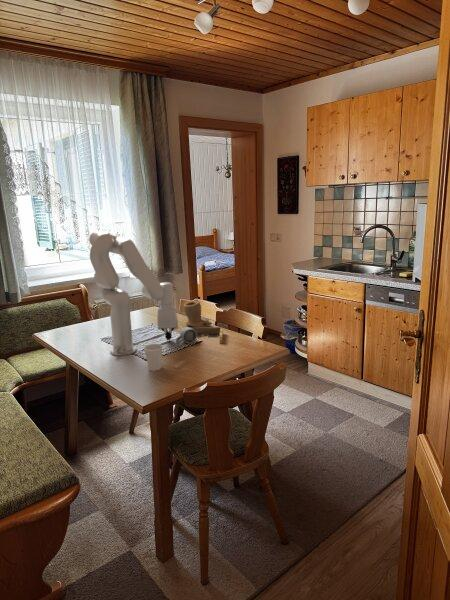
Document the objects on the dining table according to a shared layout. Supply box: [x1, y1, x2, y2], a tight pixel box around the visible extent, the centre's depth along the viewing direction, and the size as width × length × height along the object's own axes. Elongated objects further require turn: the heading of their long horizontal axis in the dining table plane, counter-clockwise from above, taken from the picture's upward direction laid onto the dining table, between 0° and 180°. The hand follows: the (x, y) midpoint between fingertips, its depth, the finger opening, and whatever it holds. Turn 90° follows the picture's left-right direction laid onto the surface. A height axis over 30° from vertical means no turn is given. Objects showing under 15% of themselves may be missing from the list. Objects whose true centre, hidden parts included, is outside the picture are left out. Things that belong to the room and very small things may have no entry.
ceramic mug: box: [174, 326, 198, 344], centre depth 217 cm, size 11×8×8 cm
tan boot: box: [183, 300, 213, 328], centre depth 243 cm, size 15×12×15 cm
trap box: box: [190, 326, 224, 345], centre depth 220 cm, size 17×20×4 cm
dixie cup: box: [143, 343, 164, 372], centre depth 182 cm, size 8×8×10 cm
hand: (168, 339), depth 218 cm, fingers closed
